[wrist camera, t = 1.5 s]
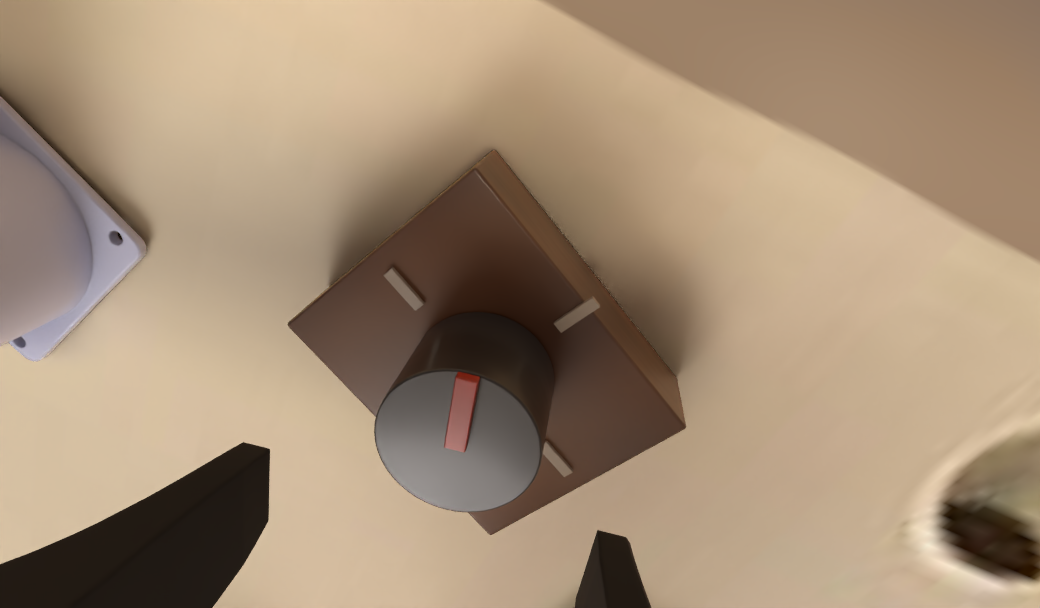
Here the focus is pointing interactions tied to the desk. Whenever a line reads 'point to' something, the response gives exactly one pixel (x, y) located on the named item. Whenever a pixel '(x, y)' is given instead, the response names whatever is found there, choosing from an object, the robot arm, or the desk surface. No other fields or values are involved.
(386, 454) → the dimmer knob
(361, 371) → the dimmer
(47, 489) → the desk surface
